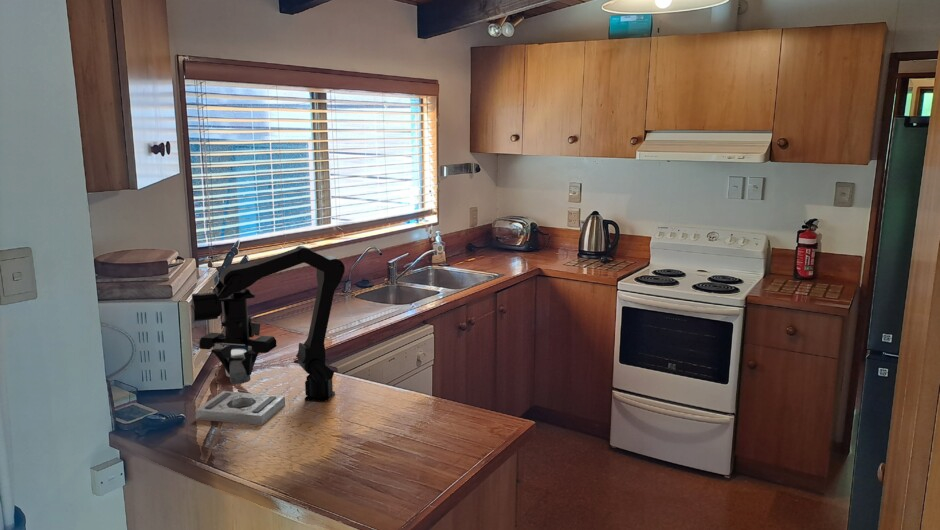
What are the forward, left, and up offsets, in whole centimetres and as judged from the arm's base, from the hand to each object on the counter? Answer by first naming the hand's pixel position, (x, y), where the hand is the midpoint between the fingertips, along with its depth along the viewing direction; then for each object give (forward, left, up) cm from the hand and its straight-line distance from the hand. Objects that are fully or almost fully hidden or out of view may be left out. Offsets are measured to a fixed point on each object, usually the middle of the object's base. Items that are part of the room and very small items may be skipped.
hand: (240, 374), depth 175 cm
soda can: (+21, -36, -11) cm, 43 cm away
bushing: (0, 0, -2) cm, 2 cm away
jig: (0, 0, -10) cm, 10 cm away
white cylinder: (+16, -25, -11) cm, 32 cm away
